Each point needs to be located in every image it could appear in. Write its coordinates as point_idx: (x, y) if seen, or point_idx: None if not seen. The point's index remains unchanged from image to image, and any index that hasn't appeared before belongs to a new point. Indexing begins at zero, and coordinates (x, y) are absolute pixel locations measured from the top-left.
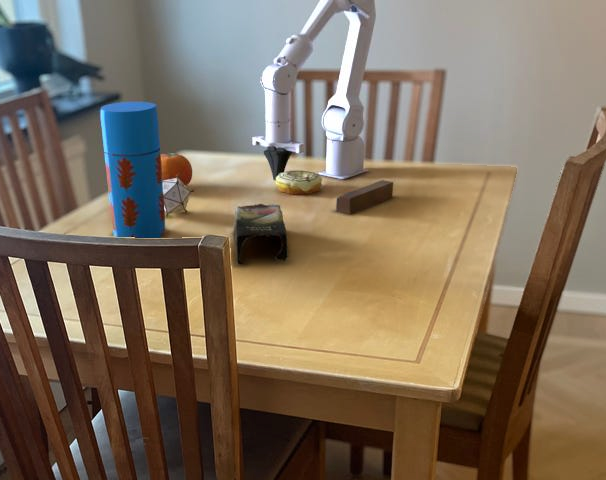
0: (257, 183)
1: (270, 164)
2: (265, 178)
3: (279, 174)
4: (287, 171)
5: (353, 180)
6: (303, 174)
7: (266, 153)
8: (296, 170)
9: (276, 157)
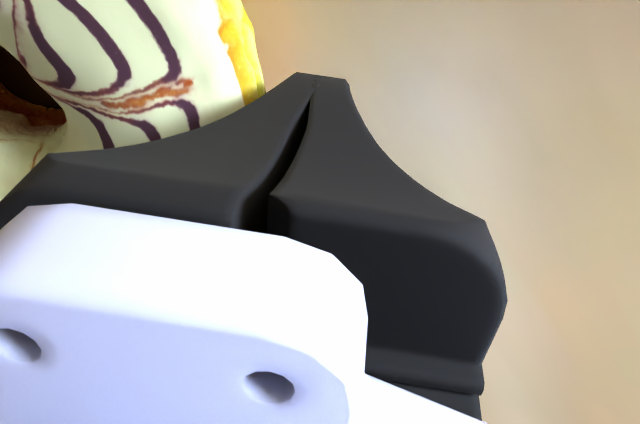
0: (564, 53)
1: (355, 145)
2: (556, 224)
3: (204, 65)
4: None
5: None
6: (11, 187)
7: (388, 207)
8: None
9: (126, 157)
